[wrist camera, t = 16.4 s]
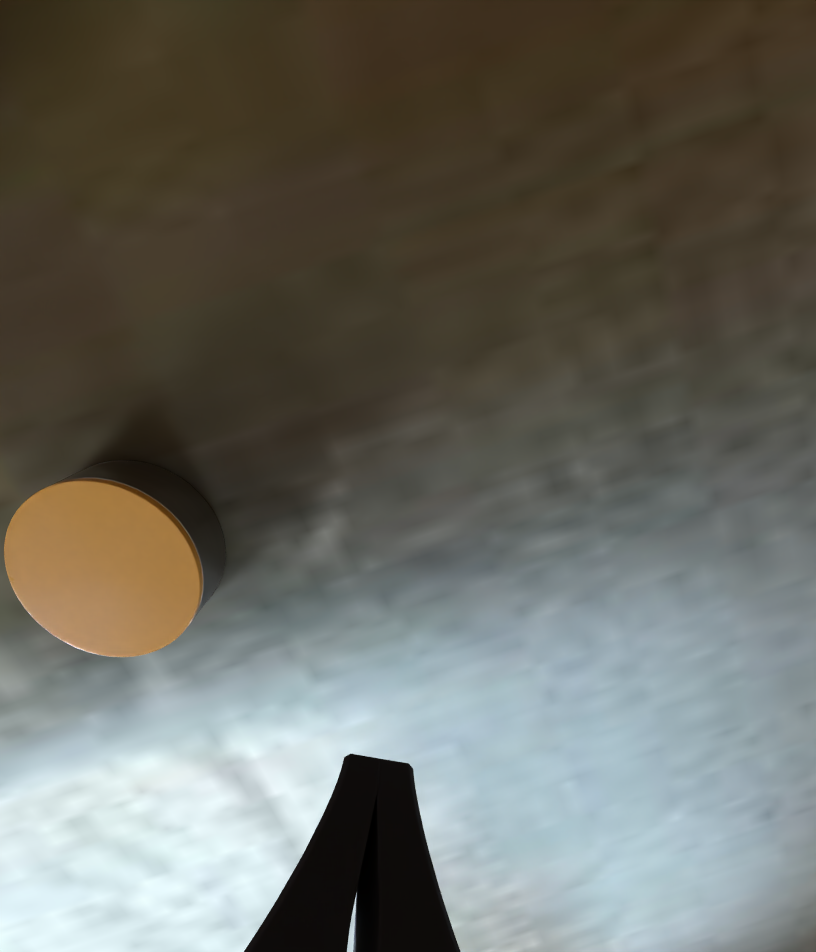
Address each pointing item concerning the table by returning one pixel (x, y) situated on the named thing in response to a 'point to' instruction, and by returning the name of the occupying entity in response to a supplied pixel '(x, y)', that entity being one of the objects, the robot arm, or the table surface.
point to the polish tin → (115, 557)
